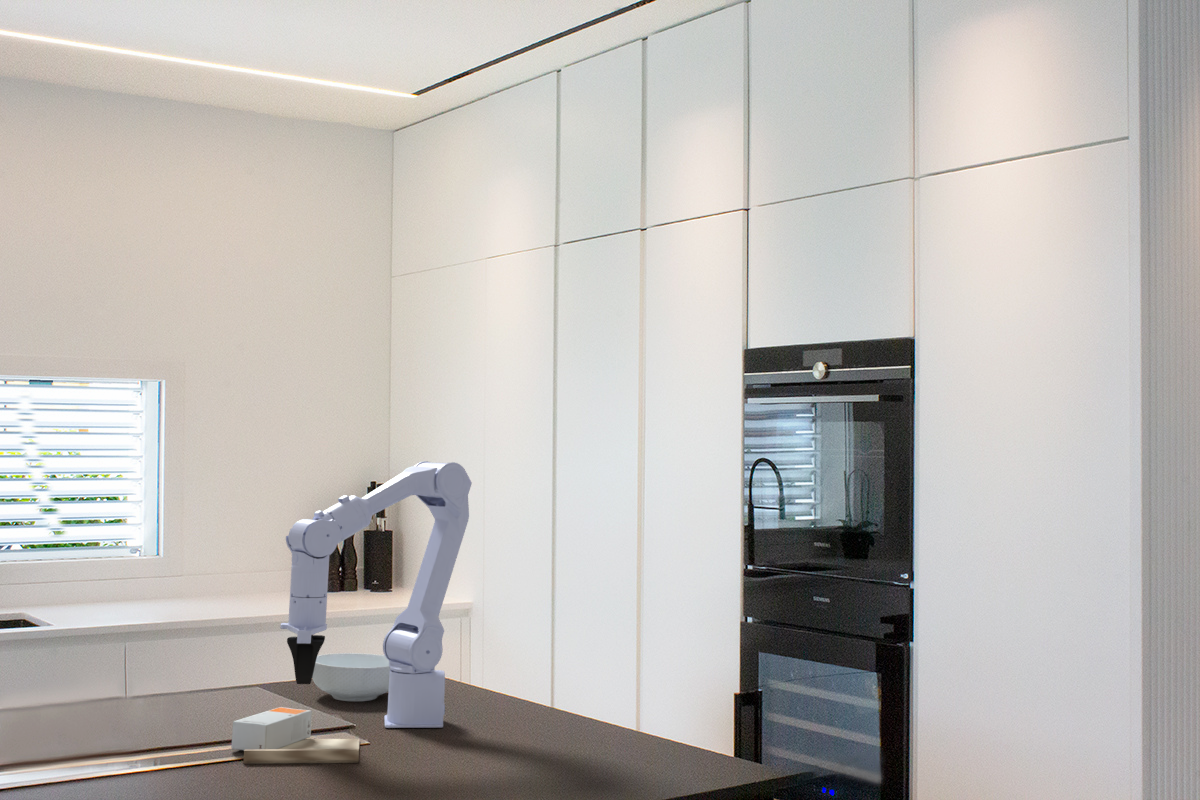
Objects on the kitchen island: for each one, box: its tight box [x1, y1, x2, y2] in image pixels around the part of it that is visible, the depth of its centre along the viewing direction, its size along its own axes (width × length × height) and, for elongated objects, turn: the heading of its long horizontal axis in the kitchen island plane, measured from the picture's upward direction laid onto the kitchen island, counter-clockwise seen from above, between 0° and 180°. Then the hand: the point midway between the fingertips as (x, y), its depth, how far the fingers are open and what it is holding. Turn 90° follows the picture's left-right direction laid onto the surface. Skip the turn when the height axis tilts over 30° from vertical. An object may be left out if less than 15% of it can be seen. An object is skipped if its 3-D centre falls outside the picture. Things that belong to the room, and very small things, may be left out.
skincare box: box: [230, 706, 313, 752], centre depth 175 cm, size 6×4×12 cm
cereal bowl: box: [312, 652, 390, 702], centre depth 213 cm, size 17×17×7 cm
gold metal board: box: [242, 738, 360, 765], centre depth 172 cm, size 16×13×2 cm
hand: (303, 683), depth 181 cm, fingers closed
